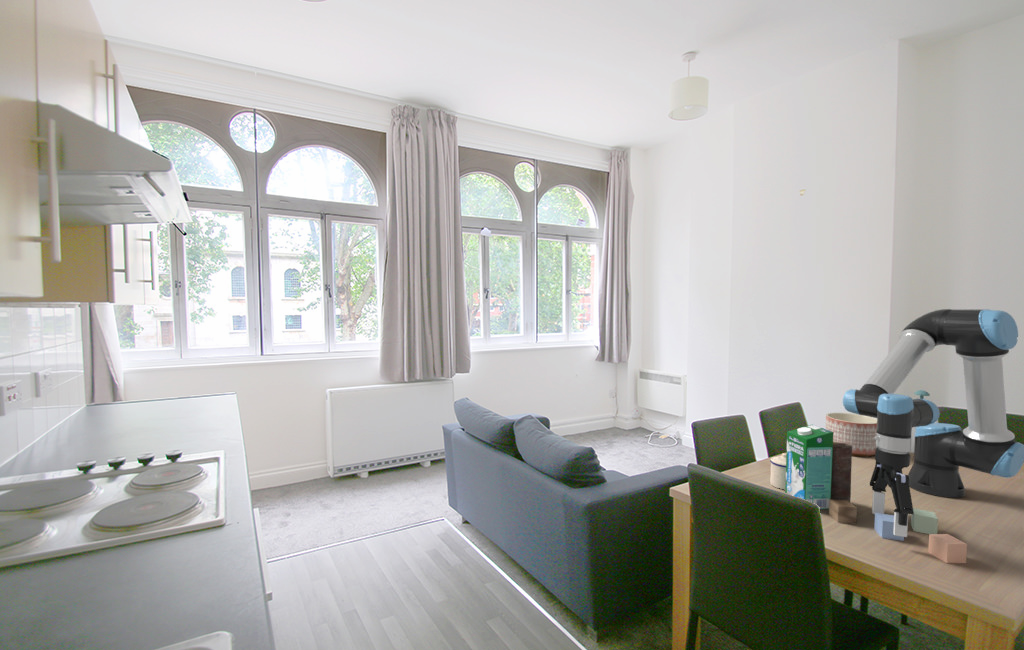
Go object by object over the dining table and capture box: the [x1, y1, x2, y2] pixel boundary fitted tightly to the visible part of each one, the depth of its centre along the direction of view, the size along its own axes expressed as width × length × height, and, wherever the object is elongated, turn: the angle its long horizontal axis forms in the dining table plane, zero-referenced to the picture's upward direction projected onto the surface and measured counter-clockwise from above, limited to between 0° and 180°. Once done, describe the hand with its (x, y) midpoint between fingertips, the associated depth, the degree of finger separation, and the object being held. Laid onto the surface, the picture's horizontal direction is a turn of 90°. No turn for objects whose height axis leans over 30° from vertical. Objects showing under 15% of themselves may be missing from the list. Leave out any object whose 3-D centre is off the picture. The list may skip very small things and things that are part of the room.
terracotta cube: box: [928, 533, 968, 564], centre depth 118 cm, size 5×5×5 cm
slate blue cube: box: [874, 513, 905, 542], centre depth 130 cm, size 5×5×5 cm
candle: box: [831, 442, 853, 503], centre depth 149 cm, size 8×7×20 cm
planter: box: [825, 412, 878, 457], centre depth 203 cm, size 19×19×15 cm
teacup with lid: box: [769, 452, 787, 491], centre depth 165 cm, size 12×9×12 cm
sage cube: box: [910, 507, 939, 535], centre depth 133 cm, size 5×5×5 cm
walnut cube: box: [828, 499, 858, 525], centre depth 139 cm, size 5×5×5 cm
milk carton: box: [784, 424, 833, 510], centre depth 149 cm, size 9×9×25 cm
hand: (888, 524), depth 129 cm, fingers open, 13 cm apart
